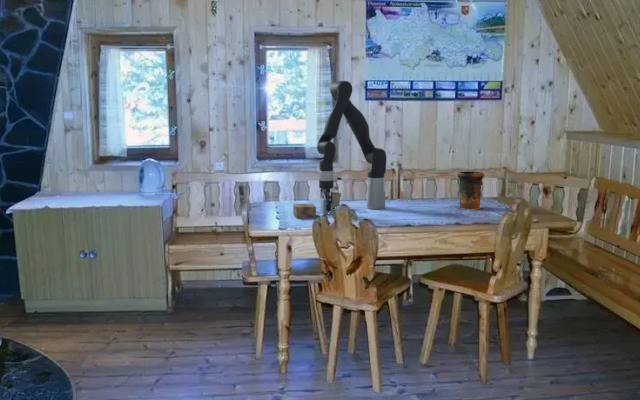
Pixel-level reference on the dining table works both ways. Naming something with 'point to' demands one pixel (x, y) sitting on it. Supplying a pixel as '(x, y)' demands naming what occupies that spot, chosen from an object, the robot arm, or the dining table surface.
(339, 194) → the flower pot
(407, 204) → the dining table surface
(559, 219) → the dining table surface
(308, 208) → the walnut box
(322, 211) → the light grey block
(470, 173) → the vessel
